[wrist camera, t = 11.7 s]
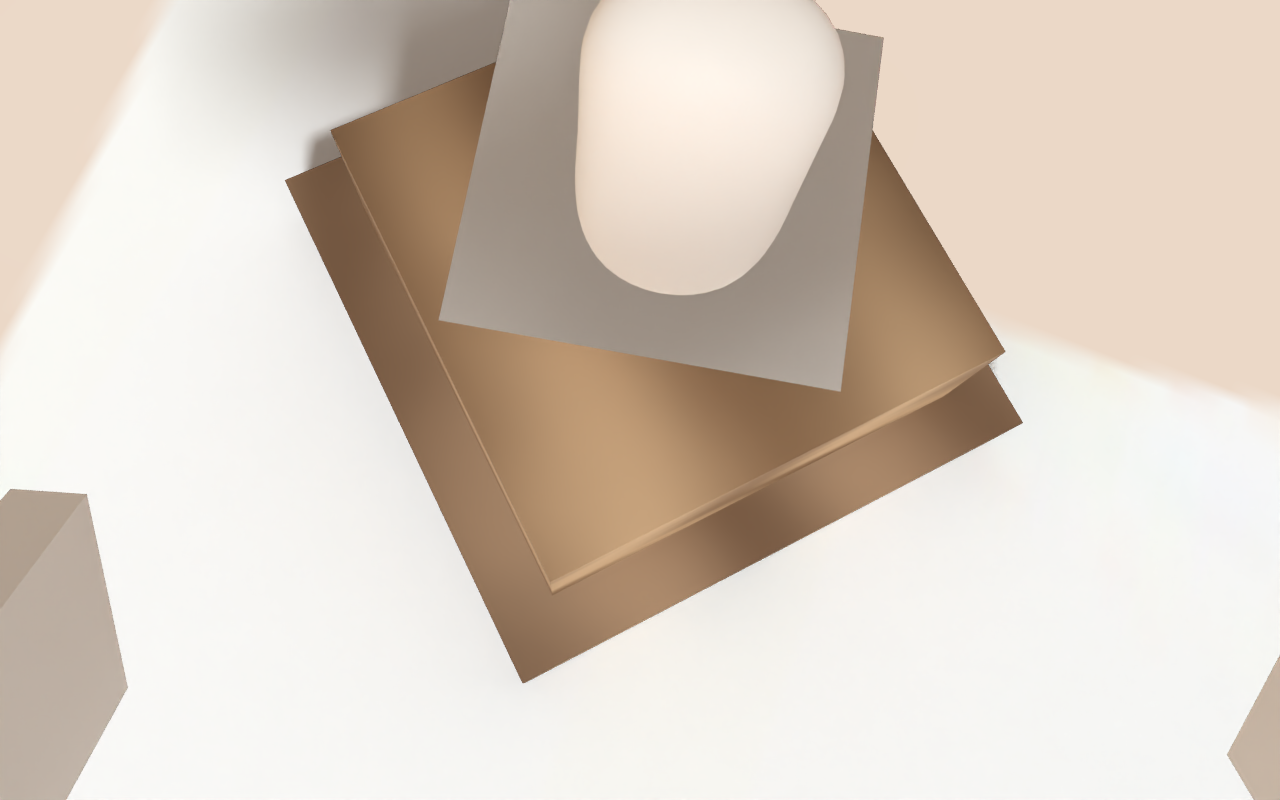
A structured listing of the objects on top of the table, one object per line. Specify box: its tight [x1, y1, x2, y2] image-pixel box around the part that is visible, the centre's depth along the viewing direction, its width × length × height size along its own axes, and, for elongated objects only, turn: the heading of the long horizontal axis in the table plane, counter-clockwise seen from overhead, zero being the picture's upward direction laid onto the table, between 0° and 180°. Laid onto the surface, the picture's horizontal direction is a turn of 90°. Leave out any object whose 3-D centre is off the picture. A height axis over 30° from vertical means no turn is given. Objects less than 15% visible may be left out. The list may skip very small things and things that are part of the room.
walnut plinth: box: [285, 62, 1023, 683], centre depth 27 cm, size 14×14×6 cm
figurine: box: [439, 0, 883, 392], centre depth 16 cm, size 7×9×15 cm
